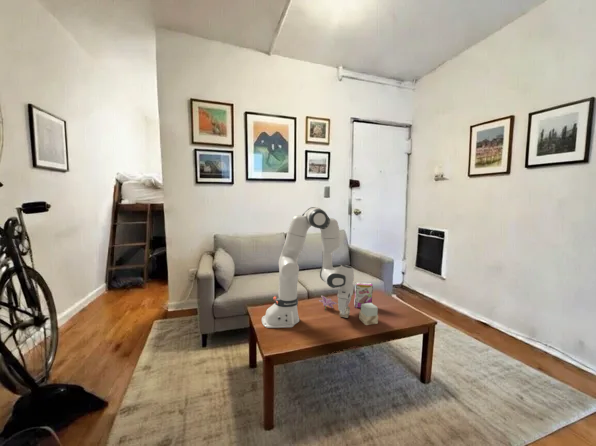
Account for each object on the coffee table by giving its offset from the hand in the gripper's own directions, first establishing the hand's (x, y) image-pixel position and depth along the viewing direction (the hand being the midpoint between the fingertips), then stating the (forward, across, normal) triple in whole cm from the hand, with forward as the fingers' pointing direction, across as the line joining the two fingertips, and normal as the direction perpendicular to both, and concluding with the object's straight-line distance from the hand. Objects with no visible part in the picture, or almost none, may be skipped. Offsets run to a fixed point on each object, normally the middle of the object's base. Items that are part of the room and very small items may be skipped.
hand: (344, 312), depth 168 cm
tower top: (-2, 0, +15) cm, 15 cm away
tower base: (+3, 0, +14) cm, 15 cm away
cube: (+2, 0, 0) cm, 2 cm away
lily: (+3, -5, -13) cm, 14 cm away
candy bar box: (+3, -19, +8) cm, 21 cm away
